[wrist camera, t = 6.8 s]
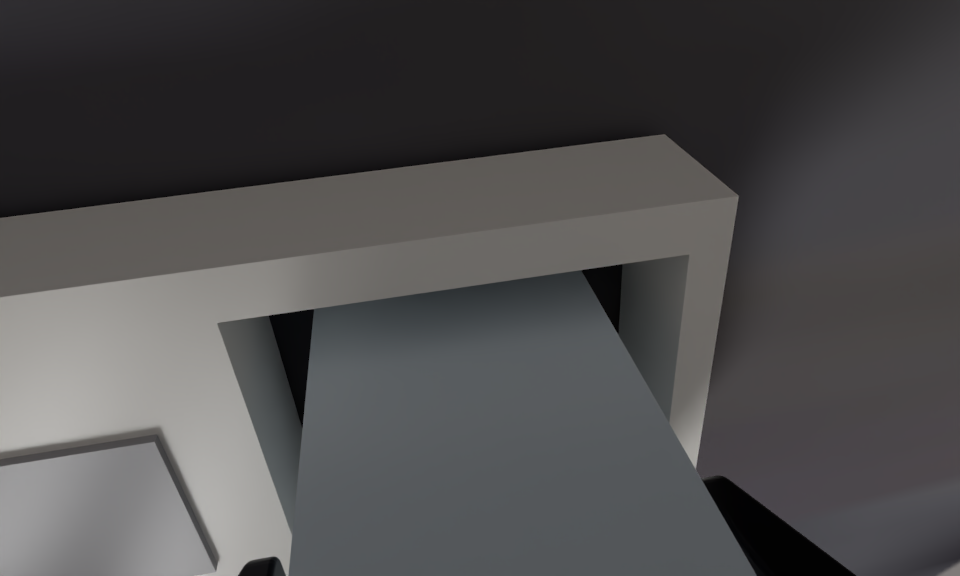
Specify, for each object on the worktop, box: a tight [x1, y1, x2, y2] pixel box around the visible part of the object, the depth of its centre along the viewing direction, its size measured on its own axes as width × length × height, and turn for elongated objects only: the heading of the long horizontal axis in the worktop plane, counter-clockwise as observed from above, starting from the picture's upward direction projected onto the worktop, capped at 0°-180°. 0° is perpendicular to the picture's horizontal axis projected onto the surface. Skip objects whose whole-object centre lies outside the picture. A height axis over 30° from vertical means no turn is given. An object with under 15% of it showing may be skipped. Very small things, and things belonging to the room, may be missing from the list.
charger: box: [288, 270, 757, 576], centre depth 10 cm, size 4×4×7 cm
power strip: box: [0, 134, 739, 576], centre depth 11 cm, size 16×8×3 cm, turn 94°
